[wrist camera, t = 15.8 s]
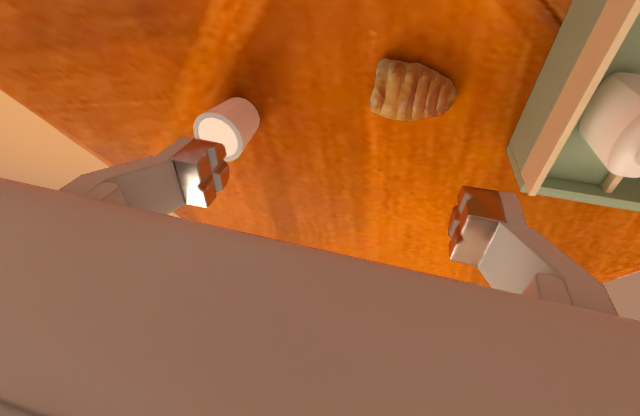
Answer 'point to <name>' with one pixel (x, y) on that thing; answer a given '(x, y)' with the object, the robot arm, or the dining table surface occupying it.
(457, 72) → the dining table surface
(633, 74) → the eye dropper bottle
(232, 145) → the white short cylinder
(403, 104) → the pastry
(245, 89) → the dining table surface
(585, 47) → the spice rack
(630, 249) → the dining table surface
